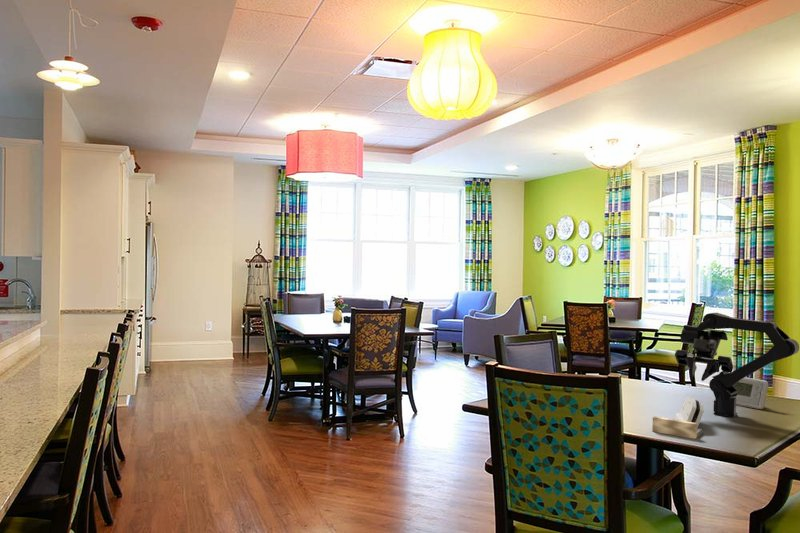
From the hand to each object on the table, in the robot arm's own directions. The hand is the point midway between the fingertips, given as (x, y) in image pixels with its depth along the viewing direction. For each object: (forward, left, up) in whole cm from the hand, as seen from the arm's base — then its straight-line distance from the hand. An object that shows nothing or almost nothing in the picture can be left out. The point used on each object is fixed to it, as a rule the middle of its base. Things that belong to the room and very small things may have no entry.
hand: (696, 379), depth 233 cm
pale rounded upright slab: (-1, +11, -14) cm, 18 cm away
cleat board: (-1, +25, -14) cm, 28 cm away
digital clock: (-9, -35, -14) cm, 38 cm away
